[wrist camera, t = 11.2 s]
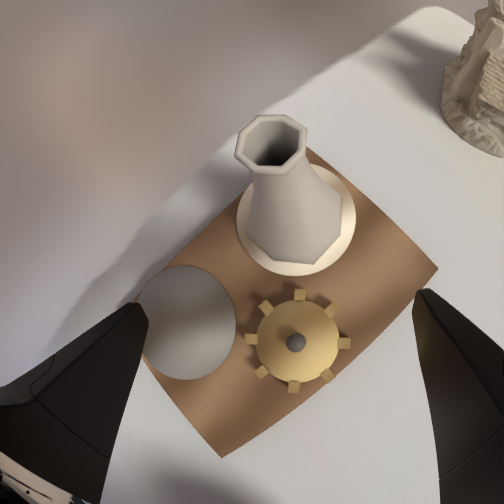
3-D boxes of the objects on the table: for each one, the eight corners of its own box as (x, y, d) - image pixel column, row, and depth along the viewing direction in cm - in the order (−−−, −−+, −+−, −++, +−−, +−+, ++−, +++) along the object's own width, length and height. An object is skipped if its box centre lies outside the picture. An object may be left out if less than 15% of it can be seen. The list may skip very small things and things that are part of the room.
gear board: (431, 271, 20) (449, 263, 16) (227, 451, 20) (211, 469, 17) (301, 150, 24) (297, 126, 21) (126, 318, 25) (100, 316, 22)
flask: (231, 241, 22) (164, 186, 13) (272, 162, 23) (238, 74, 13) (320, 282, 20) (315, 248, 10) (357, 193, 21) (374, 106, 11)
